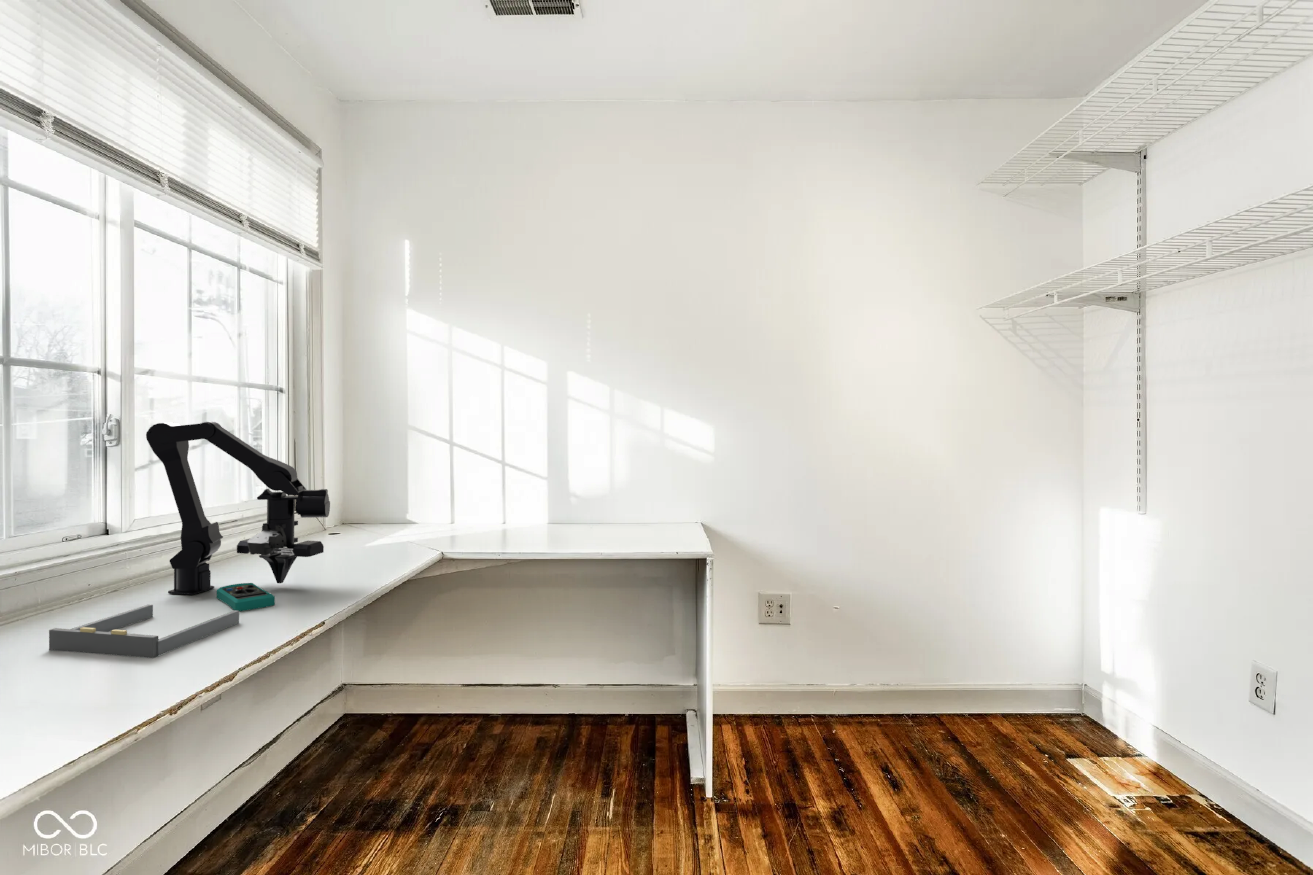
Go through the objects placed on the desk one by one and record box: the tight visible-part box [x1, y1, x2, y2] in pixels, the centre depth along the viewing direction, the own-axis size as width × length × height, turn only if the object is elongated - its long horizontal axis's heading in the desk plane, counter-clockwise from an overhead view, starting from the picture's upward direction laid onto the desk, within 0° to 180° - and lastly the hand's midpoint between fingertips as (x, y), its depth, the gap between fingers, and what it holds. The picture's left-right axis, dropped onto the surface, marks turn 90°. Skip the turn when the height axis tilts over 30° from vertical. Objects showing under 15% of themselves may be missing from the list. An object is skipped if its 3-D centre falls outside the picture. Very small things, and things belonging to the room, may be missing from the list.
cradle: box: [48, 604, 240, 659], centre depth 123 cm, size 20×20×4 cm
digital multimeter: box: [216, 582, 276, 613], centre depth 146 cm, size 8×16×3 cm, turn 47°
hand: (280, 582), depth 158 cm, fingers closed
